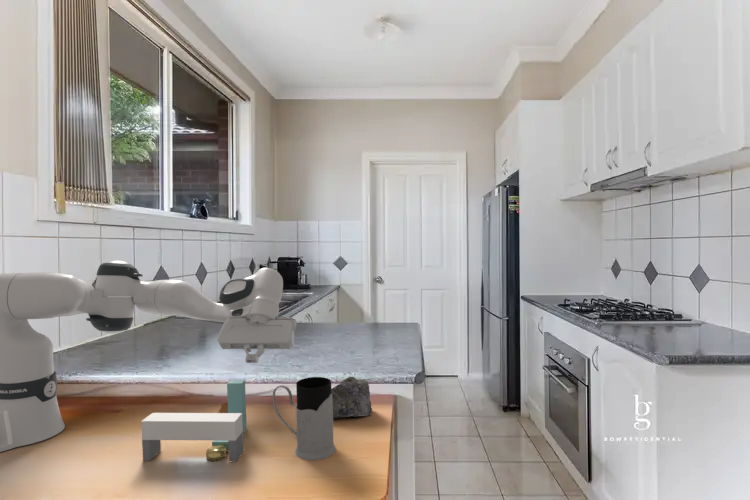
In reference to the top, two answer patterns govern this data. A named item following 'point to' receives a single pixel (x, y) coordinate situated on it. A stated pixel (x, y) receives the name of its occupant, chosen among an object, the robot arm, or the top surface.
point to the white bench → (192, 430)
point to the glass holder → (312, 418)
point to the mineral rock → (351, 398)
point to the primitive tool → (224, 408)
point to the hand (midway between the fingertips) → (251, 361)
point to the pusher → (235, 405)
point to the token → (216, 453)
